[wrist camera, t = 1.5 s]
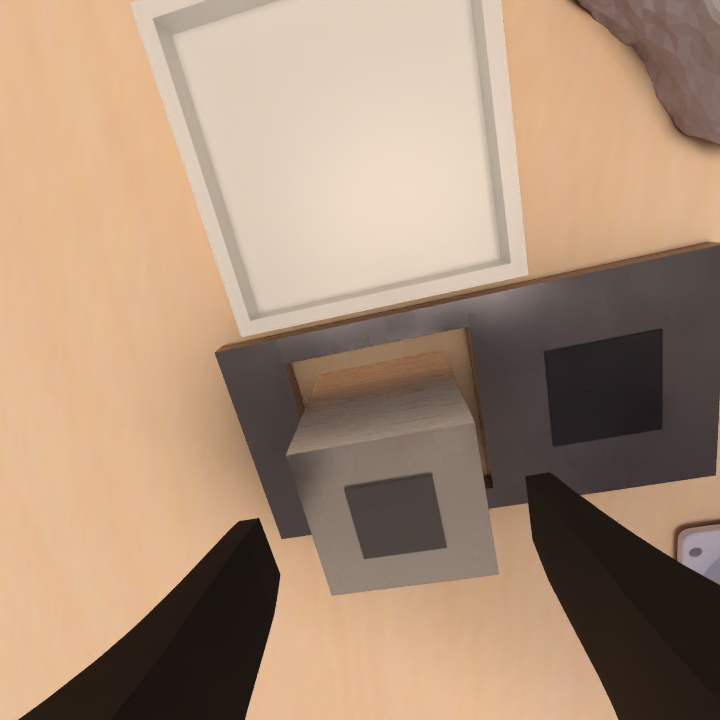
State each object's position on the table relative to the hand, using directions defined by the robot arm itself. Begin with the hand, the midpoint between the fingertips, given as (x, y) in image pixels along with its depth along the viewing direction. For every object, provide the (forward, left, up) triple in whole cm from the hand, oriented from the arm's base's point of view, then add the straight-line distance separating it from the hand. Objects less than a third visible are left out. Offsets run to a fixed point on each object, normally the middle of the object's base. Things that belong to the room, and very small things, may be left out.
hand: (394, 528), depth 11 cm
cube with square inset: (0, 0, -7) cm, 7 cm away
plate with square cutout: (0, -3, -6) cm, 7 cm away
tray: (+10, -1, -6) cm, 12 cm away
